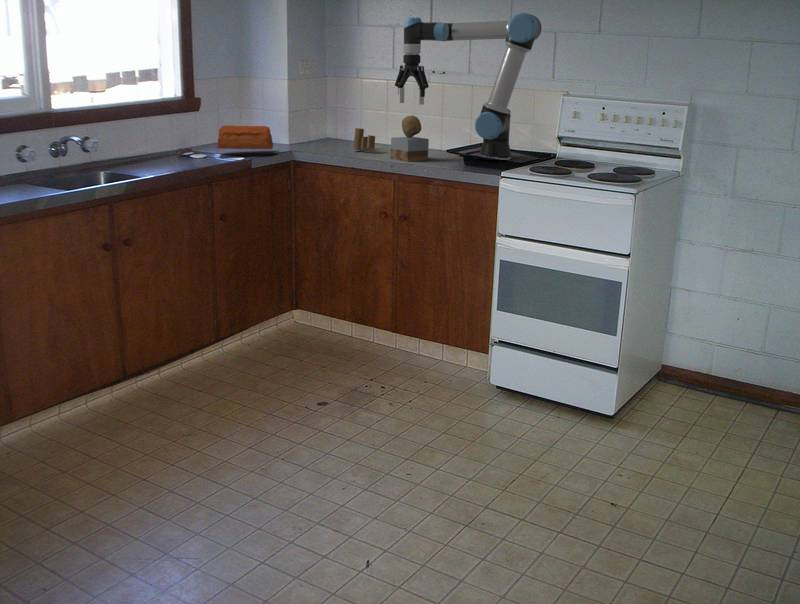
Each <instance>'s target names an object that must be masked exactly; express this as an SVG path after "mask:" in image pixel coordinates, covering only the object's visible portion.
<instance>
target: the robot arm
mask: <svg viewBox="0 0 800 604" xmlns="http://www.w3.org/2000/svg"><path fill="white" fill-rule="evenodd" d="M541 32H542V24H541V21H540V19H539V18H538V17H537V16H536V15H533V14H531V13H527V12H522V13H518V14H515V15H514V16H513V17H510V19H509V20H494V21H489V20H488V21H471V22H470V21H469V22H467V21H466V22H441V21H438V22H436V21H435V22H432V21H431V22H429V21H428V22H424V21H422V18H421V17H417V16H416V17H411V16H409V17H405V18H404V22H403V49H402V50H403V54H404V55H403V65H402V64H400V65H399V70H398V71H399V72H398V74H397V77H396V80H395V83H394V86H395V87H397V91H398V92H397V95H398V104H405V85H406V82H408V79H409V78H410V77H412V78H414V79H415V81H416V83H417V86H418V93H417V94H418V95H417V96H418V97H417V98H418V101H417V102H418V103H417V105H419V106H420V105H422V106H423V105H425V96H426V95H425V94H426V89H428V88H429V86H430V85H429V83H428V79H427V76H426V73H425V66H424V65H420V64H421V55H420V54H421V49H422V48H421V44H422V42H421V41H435V42H436V41H437V42H452V41H453V42H454V41H475V40H476V41H478V40H479V41H480V40H481V41H482V40H485V41H486V40H504V43H505V46H506V48H505V51H504V54H503V56H502V61H501V63H500V66H499V69H498V72H497V75H496V78H495V80H494V82H493V86H492V90H491V92H490V94H489V95H490V96H489V98H488V101H486V102H485V103H483V104H482V108H481V111H480V113H479V115H478V116H477V117H476V119H475V121H474V128H475V131H476V133H477V135H478V136H480V137H481V138H482V144H481V147H480V151H479V153H478V155H479V154H481V155H485V156H489V157H498V158H508V157H512V158H513V154H512V152H511V147H510V129H511V127H510V125H511V116H512V114H511V110H510V109H509V108H508V106H509V103H510V99H511V96H513V95H512V94H513V91H514V89H515V86H516V83H517V80H518V77H519V74H520V72H521V69H522V66H523V63H524V60H525V57H526V55H527V53H529V52H531V51H532V48H533V47H534V44H535V41H537V39H538V38H539V37H540V35H541Z"/></svg>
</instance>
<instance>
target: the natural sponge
mask: <svg viewBox="0 0 800 604" xmlns="http://www.w3.org/2000/svg"><path fill="white" fill-rule="evenodd" d="M401 129H402V132H403V135H404V137H408V138H411V137H415V136H416V135H419V134H420V133H421V132H422V124H421V120H420V119H419V118H418V117H417V116H416V115H407V116H405V117H404V118H403V119H402V120H401Z"/></svg>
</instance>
